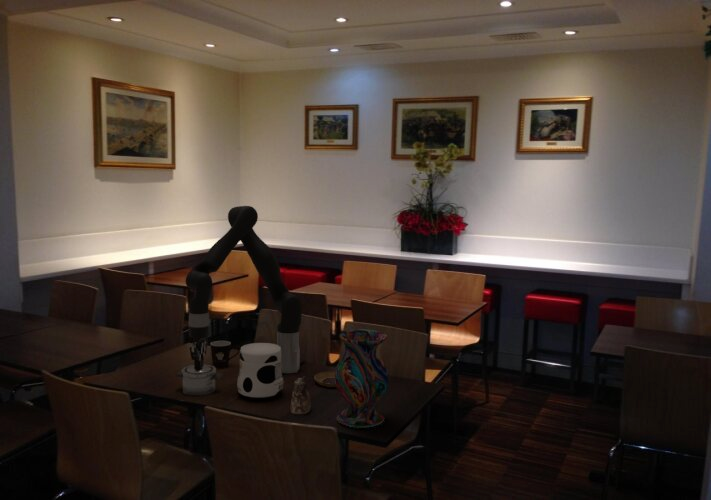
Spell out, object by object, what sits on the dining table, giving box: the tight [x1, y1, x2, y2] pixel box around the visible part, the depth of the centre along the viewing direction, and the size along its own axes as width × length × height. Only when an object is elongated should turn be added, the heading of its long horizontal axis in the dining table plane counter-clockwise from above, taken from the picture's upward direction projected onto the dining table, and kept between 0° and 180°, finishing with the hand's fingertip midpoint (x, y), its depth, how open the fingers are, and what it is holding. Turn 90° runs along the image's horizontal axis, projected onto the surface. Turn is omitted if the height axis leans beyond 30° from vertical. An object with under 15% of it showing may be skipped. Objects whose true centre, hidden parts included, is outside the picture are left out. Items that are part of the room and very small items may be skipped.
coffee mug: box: [210, 340, 241, 369], centre depth 266 cm, size 12×9×10 cm
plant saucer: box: [313, 371, 337, 388], centre depth 250 cm, size 15×15×3 cm
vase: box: [335, 328, 390, 429], centre depth 211 cm, size 18×18×30 cm
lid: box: [187, 359, 211, 374], centre depth 236 cm, size 9×9×4 cm
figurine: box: [290, 375, 312, 415], centre depth 219 cm, size 7×7×12 cm
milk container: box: [236, 342, 284, 400], centre depth 233 cm, size 17×17×18 cm
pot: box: [175, 363, 223, 397], centre depth 236 cm, size 17×12×8 cm
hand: (199, 368), depth 236 cm, fingers closed on lid, 2 cm apart
